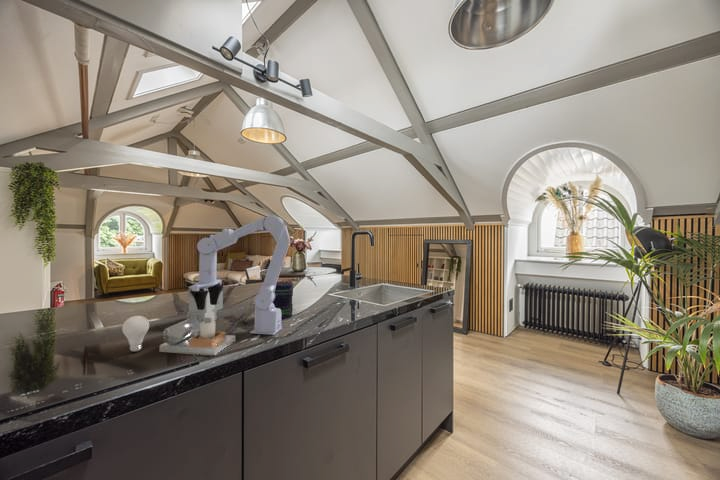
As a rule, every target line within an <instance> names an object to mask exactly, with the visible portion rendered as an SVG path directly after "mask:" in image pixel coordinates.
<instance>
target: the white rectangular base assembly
mask: <svg viewBox="0 0 720 480" xmlns="http://www.w3.org/2000/svg"><path fill="white" fill-rule="evenodd" d="M189 318H190V317H189ZM162 339H163V341H164V343H161V344H160V345H159V346H158V347H159V350H158V351H159V353H170V354H171V353H173V354H187V355H199V354H200V356H201V355H203V356H213V355H215V356H216V355H218V354H219V353H221V352H222V351H223V349H224V348H225V349H227V348H228V347H229V346H231V345H232V344H234V343H235V342H236V339H237V337H236V335H232V334H231V335H229V334H227V331H216V330H215V337H214V338H212V339H203V338H200V322H199V321H198V320H197V319H195V318H190V319H185V320H182V321H179V322H178V323H175V324H173V325H170V326H168V327H166V328H165V329H164V330H163V332H162ZM233 342H234V343H233ZM227 346H228V347H227ZM226 347H227V348H226ZM225 349H224V350H225ZM221 350H222V351H221ZM220 351H221V352H220ZM218 352H219V353H218ZM217 353H218V354H217Z"/></svg>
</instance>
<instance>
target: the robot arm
mask: <svg viewBox="0 0 720 480" xmlns="http://www.w3.org/2000/svg"><path fill="white" fill-rule="evenodd" d="M257 231H267V232H268V233H270V235H271V236H272V237H273V239H274V241H275V242H276V244H275V247H274V249H273V253H272V256H271V259H270V261H269V265H268V267H267V271H266V274H265V277H264V280H263V283H262V285H261V286H260V289H259V292H257V294H256V295H255V297H254V299H253V304H254V329H252V330H251V331H249V333H250V334H253V335H254V334H255V335H256V334H257V335H269V336H270V335H272V336H273V335H276V334H277V333H278V332H280V330H282V328H283V327H282V320H281V315H282V314H281V309H279V308H275V305H274V304H273V303H272V302H273V301H274V299H275V288H276V283H277V282H278V280H279V277H280V274H281V270H282V267H283V265H284V262H285V259H286V256H287V253H288V250H289V247H290V243H291V237H290V234H289V231H288V227H287V224H286V222H285V221H284V219H282V217H279V216H278V215H274V214H271V215H269V216H267V217H261V218H259V219H256V220H254V221H251V222H249V223H247V224H245V225H243V226H241V227H239V228H237V229H234V230H233V229H231V228H228V229H227V228H223V229H221V232H218V233H216V234H210V235H209V237H203V238H202V239H200V240H199V241H198V242H197V243H196V248H197V250H198V252H199V260H198V261H199V262H198V264H199V265H198V266H199V268H198V269H199V273H198V281H197V282H196V283H195V284H192V285H191V286H192V290H191V294H192V296H193V297H194V299H195V302H196V305H197V309H198V310H204V308H205V300H206V296H207V294H208V292H209V295H210V304H211V305H217V301H218V298H219V295H220V292H221V291H223V289H224V285H222V279H217V274H218V273H217V268H218V267H217V266H218V265H217V264H218V261H217V260H218V259H217V258H218V257H217V253H218V251H219V250H222V249H224V248H227V247H229V246H231V245H234V244H236V243H237V241H238V239H239V238H242V237H245V236H246V235H250V234H252V233H253V232H254V233H255V232H257ZM205 288H208V291H204V290H203V289H205Z"/></svg>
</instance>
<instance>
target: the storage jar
mask: <svg viewBox="0 0 720 480" xmlns="http://www.w3.org/2000/svg"><path fill="white" fill-rule="evenodd" d="M293 285H294V283H293V282H291V281H290V282H289V281H277V283H276V288H275V299H274V301H273V302H272V303H273V304H274V305H275V308H279V309H281V314H282V315H281V321H283V320H287V319H288V320H289V319H292V317H293V310H294V309H293V308H294V307H293V306H294V305H293V296H294V293H293V292H294V286H293Z"/></svg>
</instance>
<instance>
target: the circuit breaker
mask: <svg viewBox="0 0 720 480" xmlns="http://www.w3.org/2000/svg"><path fill="white" fill-rule="evenodd" d="M187 288H188V290H187V298H188V311H187V313H186V314H187V315H186V318H187V319H190V318H195V319H197V320H198V321H199V322H202V321H205V318H212V320H214V321H216V320H217V319H218V316H217V313H218V311H220V310H221V309H223V308H224V301H223V300H224V291H223V290H221V292H220V295H219V298H218V301H217V305H211V304H210V295H209V292H208V294H207V296H206V300H205V308H204V310H198V309H197V305H196V302H195V299H194V297H193V296H192V294H191V290H192V285H191V286H187ZM203 290H204V291H208V288H205V289H203ZM187 319H186V320H187Z"/></svg>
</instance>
